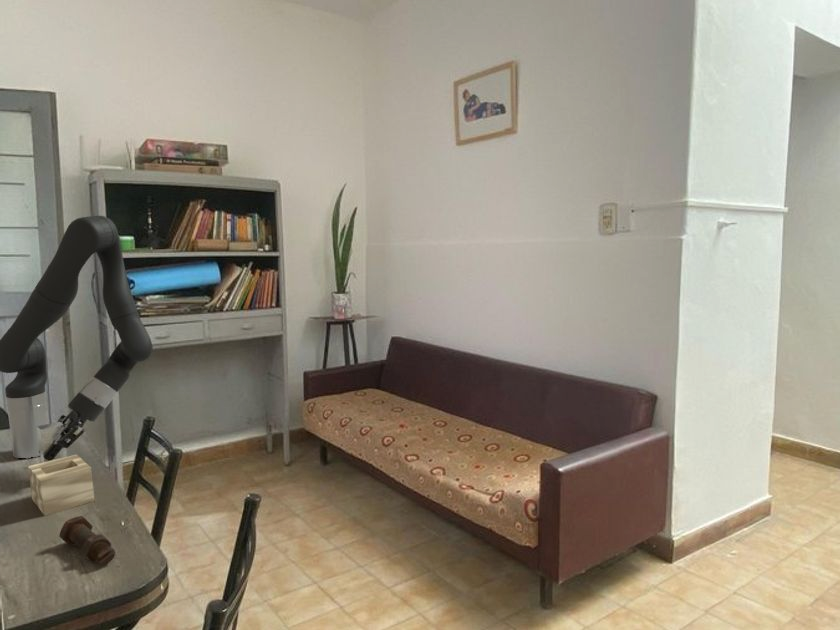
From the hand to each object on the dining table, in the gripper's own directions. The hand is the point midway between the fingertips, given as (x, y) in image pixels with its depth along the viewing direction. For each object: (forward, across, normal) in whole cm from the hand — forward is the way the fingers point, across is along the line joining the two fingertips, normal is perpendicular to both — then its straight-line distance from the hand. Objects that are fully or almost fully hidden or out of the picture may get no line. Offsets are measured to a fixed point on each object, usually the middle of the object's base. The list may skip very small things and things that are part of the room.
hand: (44, 456), depth 148 cm
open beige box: (+5, +15, +4) cm, 16 cm away
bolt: (+7, +46, +3) cm, 46 cm away
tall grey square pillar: (+3, 0, +6) cm, 7 cm away
